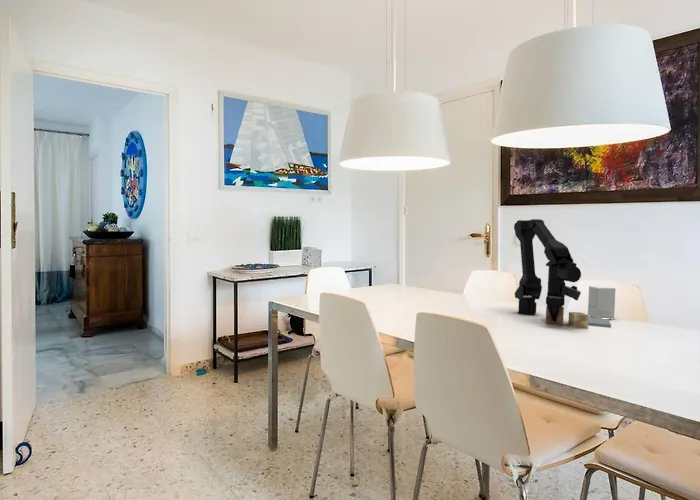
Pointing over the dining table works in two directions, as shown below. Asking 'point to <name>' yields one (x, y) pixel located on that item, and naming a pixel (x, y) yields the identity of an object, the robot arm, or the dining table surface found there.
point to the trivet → (598, 322)
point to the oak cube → (578, 320)
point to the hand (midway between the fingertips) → (554, 319)
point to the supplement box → (601, 302)
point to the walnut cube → (559, 318)
